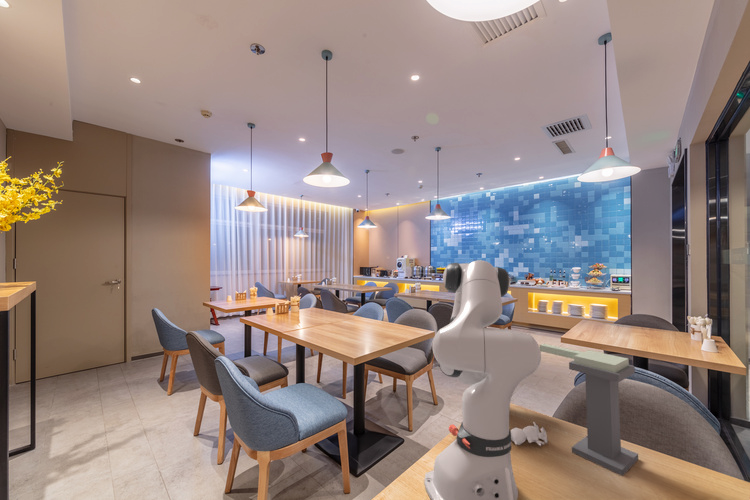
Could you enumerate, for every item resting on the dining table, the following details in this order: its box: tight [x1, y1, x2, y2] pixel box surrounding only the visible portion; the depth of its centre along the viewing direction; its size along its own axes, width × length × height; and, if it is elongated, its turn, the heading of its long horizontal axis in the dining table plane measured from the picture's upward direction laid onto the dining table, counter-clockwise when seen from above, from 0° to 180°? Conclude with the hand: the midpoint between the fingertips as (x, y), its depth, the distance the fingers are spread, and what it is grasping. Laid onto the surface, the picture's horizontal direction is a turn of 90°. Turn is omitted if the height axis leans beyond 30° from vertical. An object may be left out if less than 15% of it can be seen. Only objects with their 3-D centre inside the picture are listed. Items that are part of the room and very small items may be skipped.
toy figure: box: [510, 421, 548, 447], centre depth 95 cm, size 11×5×12 cm
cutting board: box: [539, 343, 630, 373], centre depth 93 cm, size 10×22×2 cm, turn 34°
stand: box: [568, 360, 639, 477], centre depth 88 cm, size 12×12×26 cm
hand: (518, 356), depth 109 cm, fingers open, 8 cm apart
